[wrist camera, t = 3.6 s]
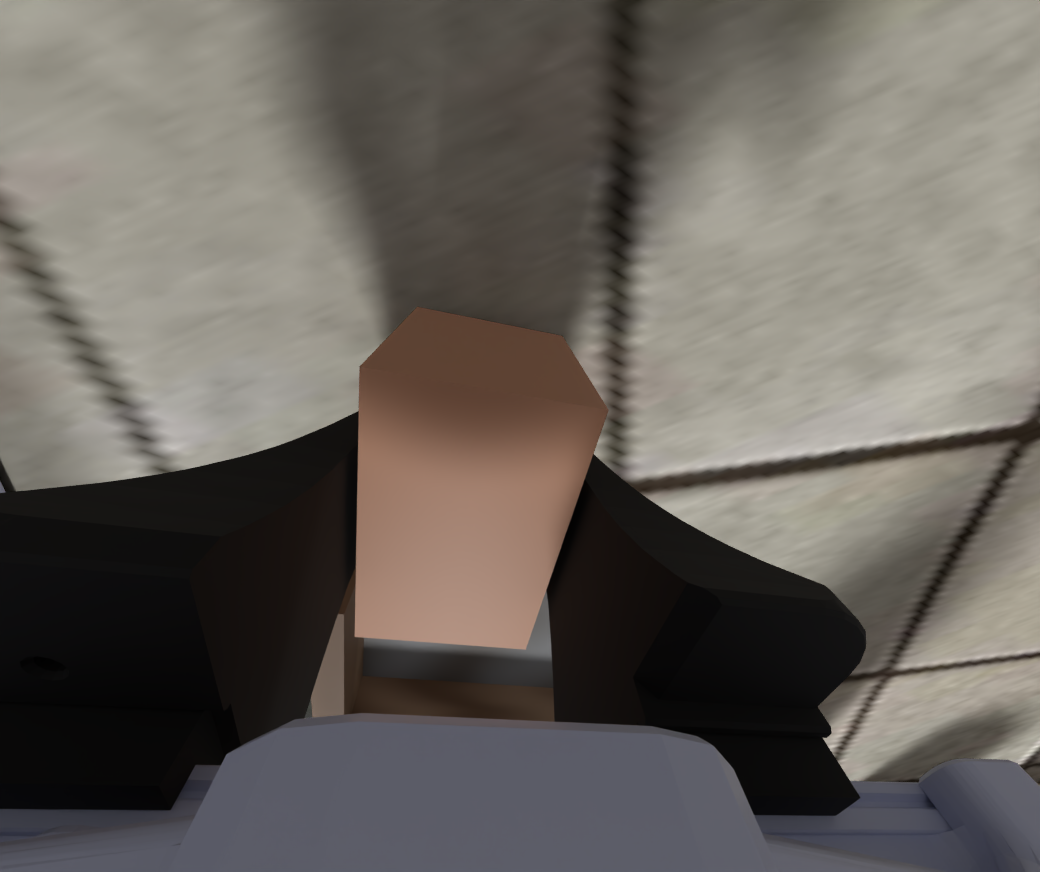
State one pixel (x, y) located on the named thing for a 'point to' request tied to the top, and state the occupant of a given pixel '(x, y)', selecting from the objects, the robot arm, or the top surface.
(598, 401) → the block
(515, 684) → the corner walled tray
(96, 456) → the top surface
